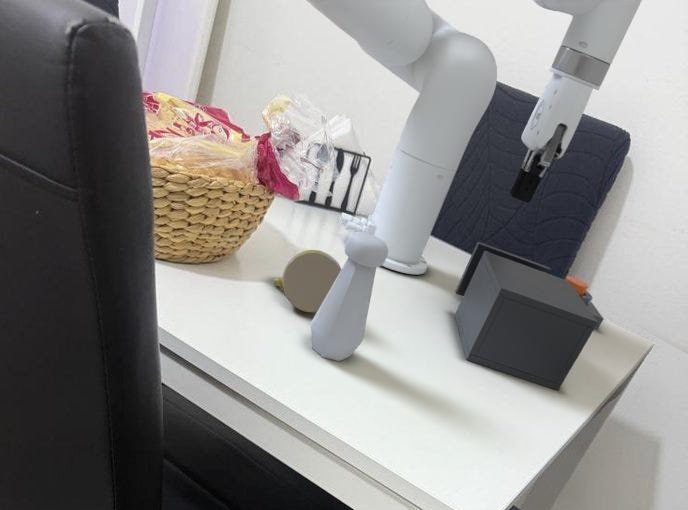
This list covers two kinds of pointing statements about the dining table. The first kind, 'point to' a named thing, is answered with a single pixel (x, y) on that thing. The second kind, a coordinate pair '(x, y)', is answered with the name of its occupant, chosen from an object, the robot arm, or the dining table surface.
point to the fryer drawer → (483, 247)
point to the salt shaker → (348, 299)
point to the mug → (309, 279)
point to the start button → (577, 285)
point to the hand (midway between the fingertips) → (519, 198)
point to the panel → (592, 308)
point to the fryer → (523, 321)
